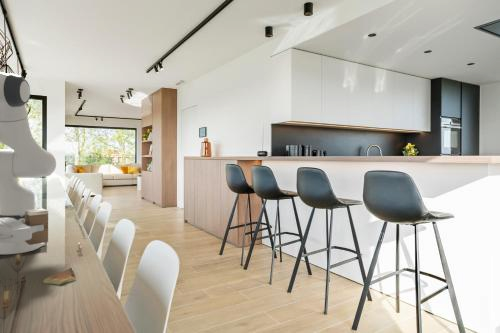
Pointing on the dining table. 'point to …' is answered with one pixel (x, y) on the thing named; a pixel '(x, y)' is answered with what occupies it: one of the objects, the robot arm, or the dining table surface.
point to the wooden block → (34, 219)
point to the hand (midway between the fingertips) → (39, 225)
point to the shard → (61, 277)
